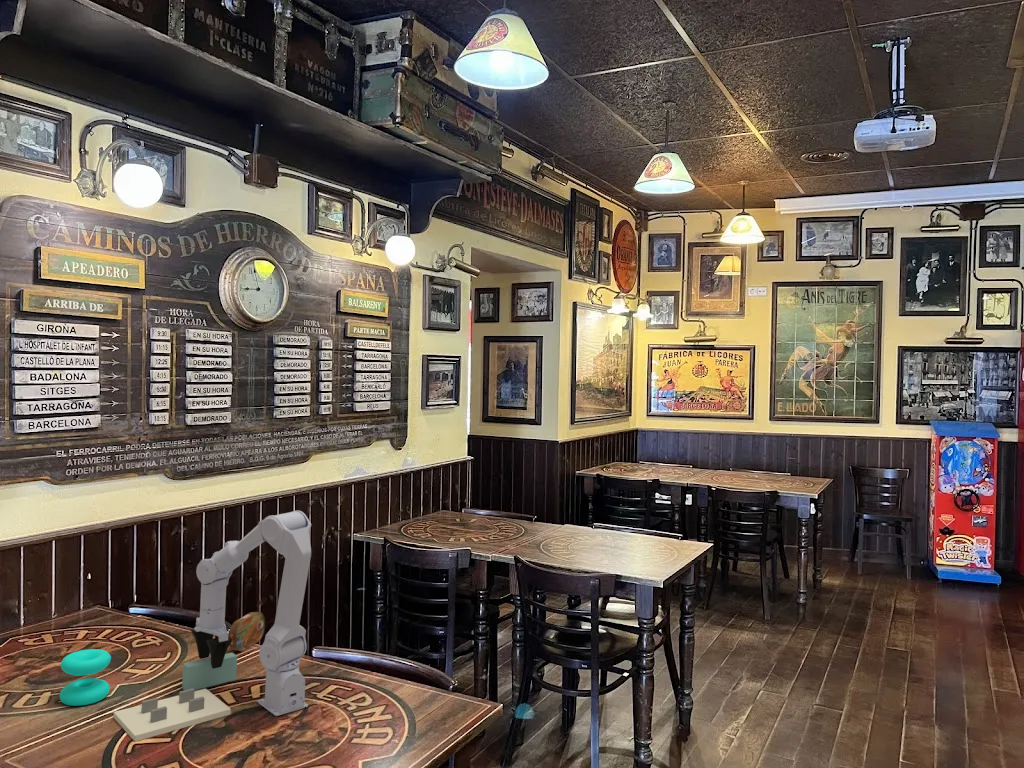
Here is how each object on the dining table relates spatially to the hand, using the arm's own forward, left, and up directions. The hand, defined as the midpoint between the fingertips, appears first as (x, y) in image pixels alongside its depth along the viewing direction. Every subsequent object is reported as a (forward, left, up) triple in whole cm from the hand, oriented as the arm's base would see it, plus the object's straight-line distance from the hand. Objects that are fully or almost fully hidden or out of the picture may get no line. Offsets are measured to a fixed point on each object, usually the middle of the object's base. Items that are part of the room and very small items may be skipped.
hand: (210, 662), depth 182 cm
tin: (+19, -18, -5) cm, 27 cm away
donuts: (+9, +25, -5) cm, 27 cm away
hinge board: (-12, +13, -5) cm, 18 cm away
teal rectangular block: (0, 0, -5) cm, 5 cm away
